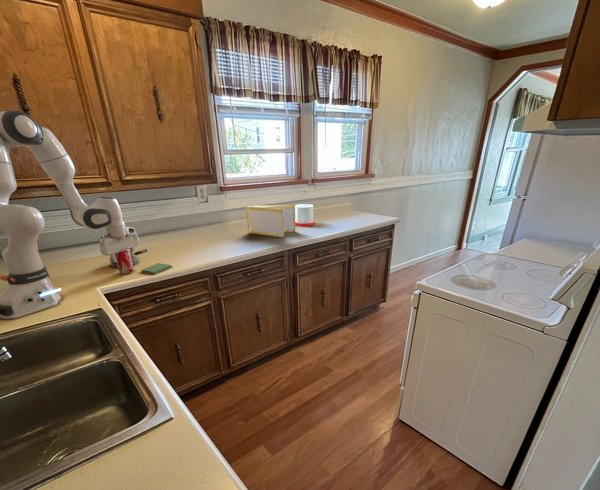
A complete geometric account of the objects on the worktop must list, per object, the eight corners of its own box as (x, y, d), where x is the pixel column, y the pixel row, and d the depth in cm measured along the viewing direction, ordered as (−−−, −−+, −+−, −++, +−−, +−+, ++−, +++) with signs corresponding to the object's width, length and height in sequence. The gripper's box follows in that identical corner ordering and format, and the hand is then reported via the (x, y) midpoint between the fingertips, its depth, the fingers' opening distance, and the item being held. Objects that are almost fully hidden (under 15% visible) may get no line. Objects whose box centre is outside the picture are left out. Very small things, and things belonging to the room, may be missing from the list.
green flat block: (154, 274, 165) (154, 272, 164) (141, 272, 168) (140, 269, 168) (171, 267, 175) (171, 265, 174) (159, 265, 178) (158, 263, 177)
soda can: (129, 274, 165) (122, 251, 159) (116, 274, 166) (110, 251, 160) (138, 270, 171) (132, 247, 165) (126, 269, 172) (120, 247, 166)
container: (309, 227, 258) (309, 207, 251) (291, 225, 264) (291, 206, 257) (317, 223, 271) (317, 204, 264) (299, 221, 277) (299, 203, 270)
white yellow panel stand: (294, 230, 248) (294, 203, 239) (298, 237, 229) (298, 208, 220) (248, 232, 243) (246, 205, 234) (248, 239, 225) (246, 210, 215)
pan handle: (133, 256, 183) (133, 253, 183) (131, 256, 184) (131, 253, 183) (148, 251, 192) (147, 248, 191) (146, 251, 193) (145, 248, 192)
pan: (123, 269, 172) (121, 261, 170) (106, 266, 177) (103, 258, 175) (142, 262, 183) (141, 254, 181) (126, 259, 188) (124, 251, 185)
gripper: (102, 237, 149) (111, 266, 156) (137, 227, 166) (144, 253, 172) (92, 236, 152) (101, 264, 158) (128, 226, 168) (135, 252, 175)
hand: (124, 258), depth 165 cm, fingers open, 8 cm apart
